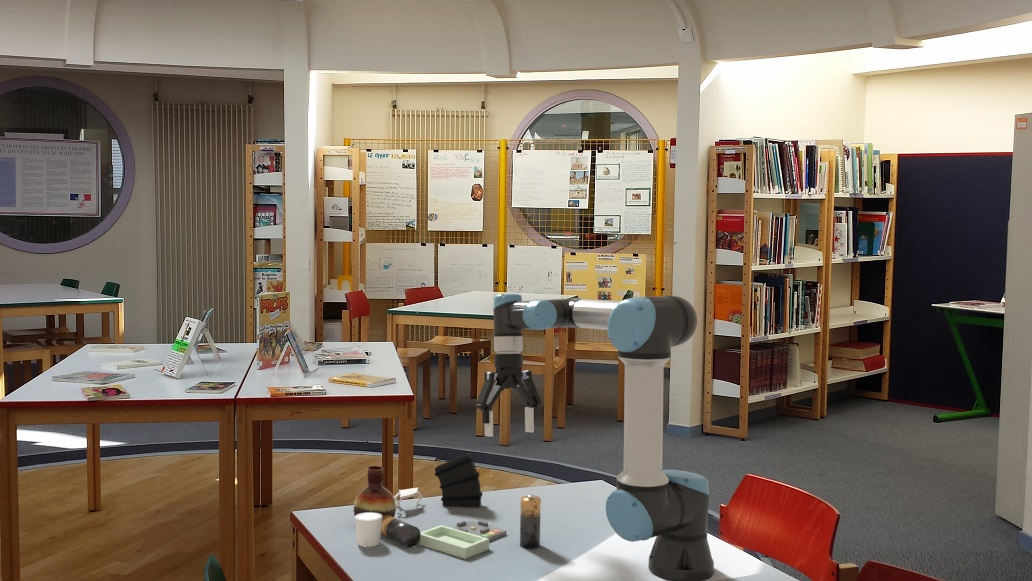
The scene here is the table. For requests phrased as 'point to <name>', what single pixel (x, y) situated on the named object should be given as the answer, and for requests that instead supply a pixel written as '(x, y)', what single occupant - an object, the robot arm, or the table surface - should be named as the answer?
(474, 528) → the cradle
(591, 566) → the table surface
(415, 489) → the white legged piece
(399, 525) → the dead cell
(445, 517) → the table surface
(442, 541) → the trough
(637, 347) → the robot arm
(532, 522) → the cell
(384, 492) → the vase
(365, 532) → the white cup
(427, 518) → the table surface
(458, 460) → the magazine
